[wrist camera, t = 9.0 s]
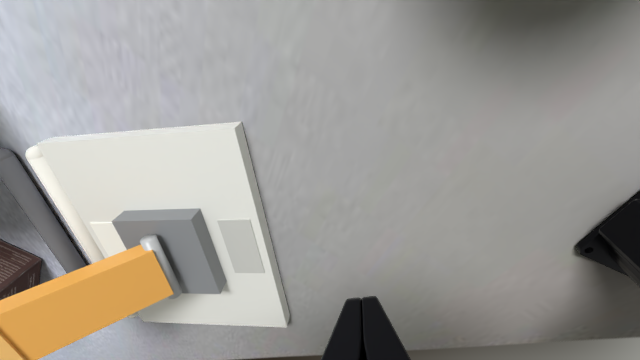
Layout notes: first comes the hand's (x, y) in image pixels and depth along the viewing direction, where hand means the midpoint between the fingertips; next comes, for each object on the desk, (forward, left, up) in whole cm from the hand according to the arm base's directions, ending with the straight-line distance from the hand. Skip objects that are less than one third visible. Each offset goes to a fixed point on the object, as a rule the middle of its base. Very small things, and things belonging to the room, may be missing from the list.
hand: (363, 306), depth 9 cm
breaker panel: (+9, +13, -12) cm, 20 cm away
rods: (+17, +18, -12) cm, 28 cm away
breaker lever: (+9, +13, -8) cm, 18 cm away
